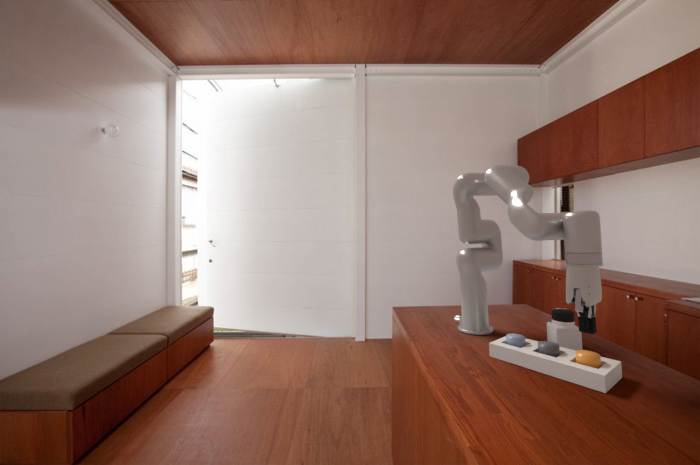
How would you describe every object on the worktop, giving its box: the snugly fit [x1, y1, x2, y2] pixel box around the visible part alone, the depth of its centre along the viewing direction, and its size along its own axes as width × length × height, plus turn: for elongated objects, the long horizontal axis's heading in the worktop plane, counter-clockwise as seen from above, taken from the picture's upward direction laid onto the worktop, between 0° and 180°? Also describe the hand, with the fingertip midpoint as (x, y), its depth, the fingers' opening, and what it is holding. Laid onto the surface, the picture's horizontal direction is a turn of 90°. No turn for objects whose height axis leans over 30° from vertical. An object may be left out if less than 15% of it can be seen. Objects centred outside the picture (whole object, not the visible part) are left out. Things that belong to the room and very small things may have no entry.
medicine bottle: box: [546, 307, 584, 351], centre depth 97 cm, size 7×7×12 cm
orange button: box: [575, 349, 602, 369], centre depth 77 cm, size 5×5×4 cm
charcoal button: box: [538, 340, 560, 357], centre depth 84 cm, size 5×5×4 cm
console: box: [488, 335, 623, 394], centre depth 84 cm, size 28×12×4 cm, turn 35°
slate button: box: [505, 332, 526, 348], centre depth 92 cm, size 5×5×4 cm
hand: (587, 332), depth 77 cm, fingers closed
